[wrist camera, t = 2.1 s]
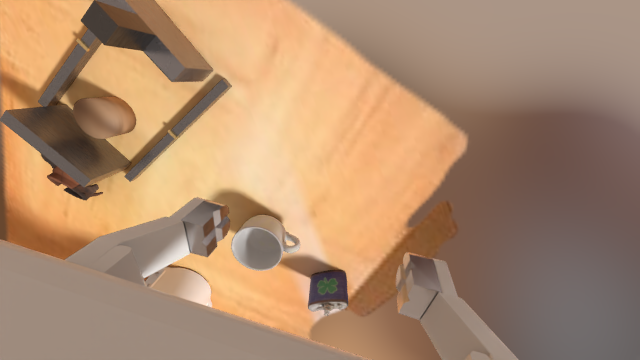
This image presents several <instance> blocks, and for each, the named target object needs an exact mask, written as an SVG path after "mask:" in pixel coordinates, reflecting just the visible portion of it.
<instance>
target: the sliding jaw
mask: <svg viewBox="0 0 640 360" xmlns="http://www.w3.org/2000/svg"><path fill="white" fill-rule="evenodd" d="M81 22H82V23H83V24H84V25H85V26H86V27H87V28H88V29H89V30H90V31H91V32H92V33H93V34H94V35H95V36H96V37H97V38H98V39H99V40H100V41H101V42H102V43H103V44H104V45H107V46H114V47H121V48H127V49H134V50H141V51H143V52H144V53H145V54H146V55H147V56H148V57H149V58H150V59H151V60H152V61H153V62H154V63H155V64H156V66H157V67H158V68H159V69H160V70H161V71H162V72H163V73H164V74H165V75H166V76H167V77H168V79H169V80H170V81H171V82H196V81H203V80H204V79H205V78H206V77H207V76H208V75H209V74H210V73H211V72H212V71H213V69H212V68H211V67H210V65H209V64H208V63H207V62H206V61H205V59H204V58H203V57H202V56H201V55H200V54H199V52H198V51H197V50H196V49H195V48H194V47H193V45H192V44H191V43H190V42H189V41H188V39H187V38H186V37H185V36H184V35H183V34H182V32H181V31H180V30H179V29H178V28H177V26H176V25H175V24H174V23H173V22H172V21H171V19H170V18H169V17H168V16H167V15H166V14H165V12H164V11H163V10H162V9H161V8H160V6H159V5H158V4H157V3H156V2H155V1H154V0H97V1H96V0H94V1H93V3H92V4H91V6H90V7H89V9H88V10H87V12H86V13H85V15H84V16H83V18H82V19H81Z"/></svg>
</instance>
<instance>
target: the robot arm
mask: <svg viewBox="0 0 640 360" xmlns="http://www.w3.org/2000/svg"><path fill="white" fill-rule="evenodd" d="M228 213H229V208H228V206H227V205H224V204H220V203H217V202H213V201H210V200H205V199H202V198H199V197H197V198H194V199H192V200H191V201H190V202H188V203H187V204H186V205H184V206H183V207H182V208H181V209H179V210H178V211H177V212H175V213H174V214H173V215H172V216H170V217H163V218H160V219H157V220H153V221H150V222H147V223H143V224H140V225H137V226H134V227H130V228H127V229H124V230H120V231H117V232H114V233H110V234H107V235H104V236H101V237H98V238H97V239H95V240H94V241H92V242H91V243H89V244H88V245H86V246H85V247H83V248H82V249H80V250H79V251H77V252H76V253H74V254H73V255H71V256H69V257H68V258H66V259H65V260H63V259H60V258H57V257H53V256H50V255H47V254H44V253H41V252H38V251H35V250H32V249H29V248H26V247H23V246H19V245H16V244H13V243H10V242H7V241H4V240H1V239H0V360H372V359H369V358H366V357H363V356H360V355H357V354H353V353H350V352H347V351H344V350H341V349H338V348H335V347H332V346H328V345H325V344H322V343H319V342H316V341H313V340H310V339H307V338H304V337H301V336H298V335H295V334H292V333H289V332H286V331H282V330H279V329H276V328H273V327H270V326H267V325H264V324H261V323H258V322H255V321H252V320H248V319H245V318H242V317H239V316H236V315H233V314H230V313H227V312H224V311H221V310H218V309H214V308H211V307H212V302H211V300H210V297H211V288H210V286H209V284H208V282H207V281H206V280H205V279H204V278H203V277H202V276H200V275H199V274H197V273H196V272H194V271H191V270H189V269H185V268H171V267H167V266H168V265H170V264H172V263H174V262H175V261H177V260H179V259H181V258H183V257H185V256H187V255H188V254H190V253H194V254H197V255H201V256H205V257H208V256H209V255H210V254H211V253H212V252H213V251H214V249H215V248H216V247H217V242H218V241H220V240H222V239H224V237H225V236H226V235H227V233H228V231H229V228H230V219H229V218H228V217H227V214H228ZM403 262H404V264H402V265H400V266H399V269H398V271H397V276H396V288H397V290H398V291H399V292H400V293H399V295H398V297H397V304H398V313H399V314H402V315H406V316H409V317H412V318H415V319H418V320H420V322H421V324H422V326H423V328H424V329H425V331H426V333H427V334H428V336H429V338H430V340H431V341H432V343H433V345H434V346H435V348H436V350H437V352H438V353H439V355H440V357H441V358H442V360H518V359H517V358H516V357H515V355H514V354H513V353H512V352H511V351H510V350H509V349H508V348H507V347H506V346H505V345H504V344H503V342H502V341H501V340H500V339H499V338H498V337H497V336H496V335H495V334H494V333H493V332H492V330H491V329H490V328H489V327H488V326H487V325H486V324H485V323H484V322H483V321H482V320H481V319H480V318H479V316H478V315H477V314H476V313H475V312H474V311H473V310H472V309H471V308H470V307H469V306H468V305H467V303H466V302H465V301H464V300H463V299H461V298H458V296H457V293H456V290H455V287H454V284H453V281H452V278H451V275H450V272H449V269H448V266H447V263H446V262H445V261H441V260H437V259H433V258H428V257H424V256H420V255H416V254H412V253H409V252H407V253H406V254H405V255H404V258H403ZM149 275H150V276H149ZM147 276H149V277H148V278H147V280H146V281H145V280H144V278H146V277H147Z"/></svg>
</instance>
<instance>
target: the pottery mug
mask: <svg viewBox="0 0 640 360" xmlns="http://www.w3.org/2000/svg"><path fill="white" fill-rule="evenodd" d="M41 155H42V158H43V159H44V160H45V161H46V162H48V163H49V164H50V165H51V166H52V168H53V173H51V174H50V175H48V176H47V178H48V179H49V180H50V181H52V182H53V183H54V184H55V185H57V186H59V185H60V184H63V185H65V186H67V187H68V188H66V189H64V191H66V192H68V193H69V194H72V195H73V196H75V197H77V198H80V199H82V200H87V199H88V198H89V197H92V196H98V195H100V194H102V193H103V192H99V193H95V192H96V190H98V188H99V187H98V185H97V184H94V185H92V186H91V185H89V186H86V187H83V186H81V185H80V184H79V183H78V182H76V181H75V180H74V179H73V178H71V177H70V176H69V175H68V174H66V173H65V172H64V171H63V170H61V169H60V168H59V167H58V166H56V165H55V164H54V163H53V162H51V161H50V160H49V159H48V158H46V157H45V156H44V155H43V154H41Z"/></svg>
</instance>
